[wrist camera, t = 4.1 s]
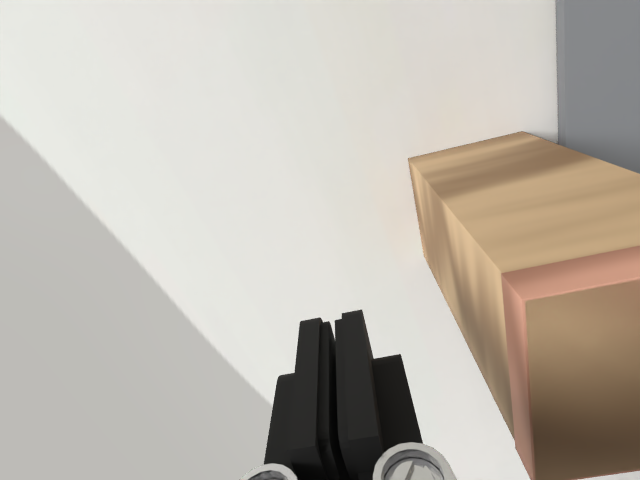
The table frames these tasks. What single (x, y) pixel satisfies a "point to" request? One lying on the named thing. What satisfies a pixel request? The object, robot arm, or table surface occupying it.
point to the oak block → (543, 292)
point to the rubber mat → (599, 79)
